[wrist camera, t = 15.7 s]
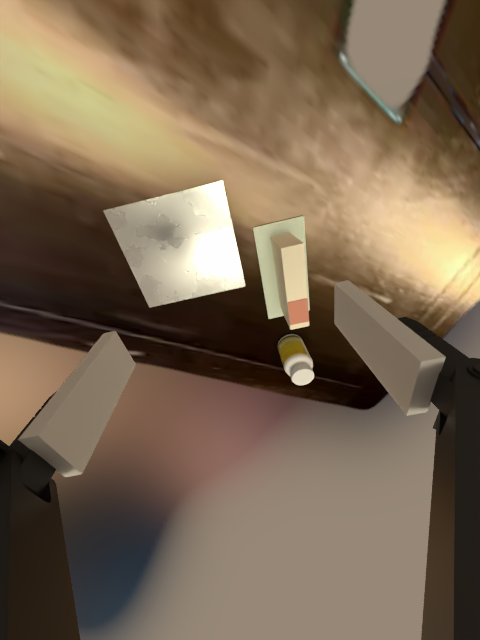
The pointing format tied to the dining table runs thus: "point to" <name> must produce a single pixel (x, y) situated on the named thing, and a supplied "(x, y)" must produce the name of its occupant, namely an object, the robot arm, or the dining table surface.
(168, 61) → the dining table surface
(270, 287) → the pad
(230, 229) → the plate
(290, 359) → the supplement bottle
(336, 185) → the dining table surface
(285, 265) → the cream rectangular block
